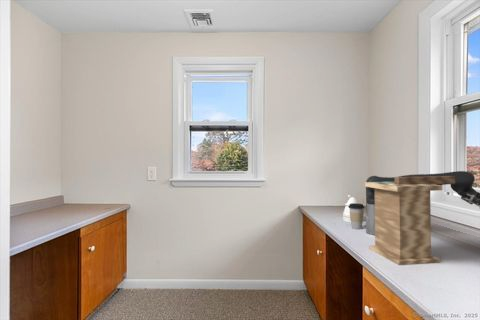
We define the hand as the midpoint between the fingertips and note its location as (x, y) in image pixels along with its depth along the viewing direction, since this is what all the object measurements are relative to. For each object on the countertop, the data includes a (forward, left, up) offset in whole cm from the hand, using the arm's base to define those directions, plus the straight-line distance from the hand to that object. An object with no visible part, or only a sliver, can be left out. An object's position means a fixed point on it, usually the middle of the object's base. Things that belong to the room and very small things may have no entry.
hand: (467, 192), depth 129 cm
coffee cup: (-53, +31, -28) cm, 67 cm away
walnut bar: (-16, -13, +4) cm, 21 cm away
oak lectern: (-25, -13, -28) cm, 39 cm away
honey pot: (-60, +53, -28) cm, 85 cm away
